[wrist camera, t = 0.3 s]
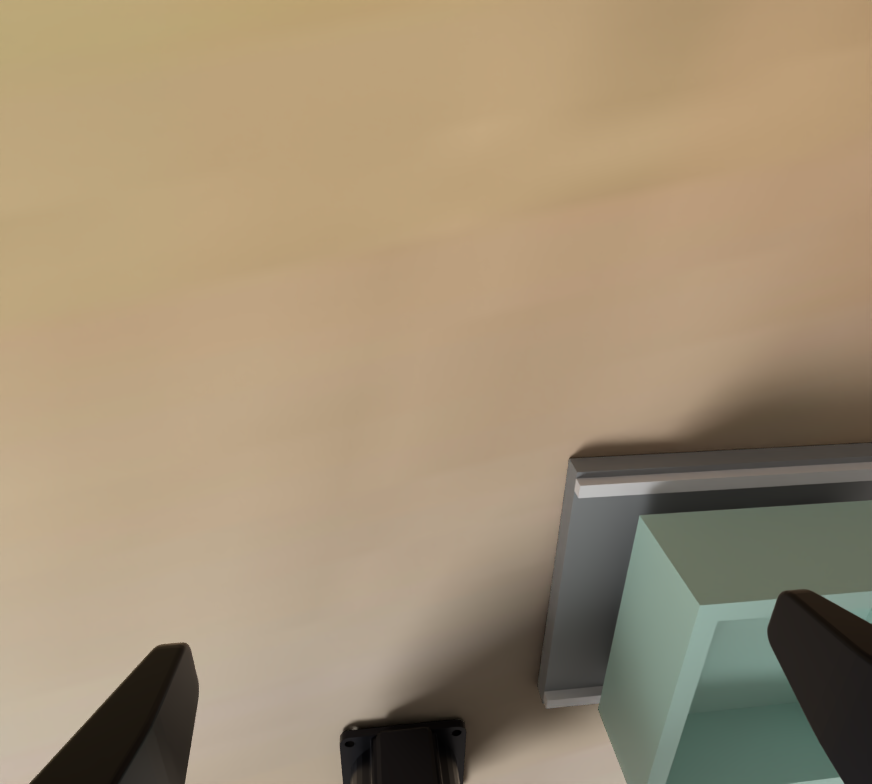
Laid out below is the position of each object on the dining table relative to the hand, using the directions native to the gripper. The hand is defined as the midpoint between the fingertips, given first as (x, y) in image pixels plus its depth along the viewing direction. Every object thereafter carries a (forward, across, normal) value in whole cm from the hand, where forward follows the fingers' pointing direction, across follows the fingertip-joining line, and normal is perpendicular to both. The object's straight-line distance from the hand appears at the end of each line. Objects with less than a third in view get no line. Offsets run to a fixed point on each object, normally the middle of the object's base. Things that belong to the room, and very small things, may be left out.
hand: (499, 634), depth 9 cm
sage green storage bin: (+13, -14, +13) cm, 23 cm away
